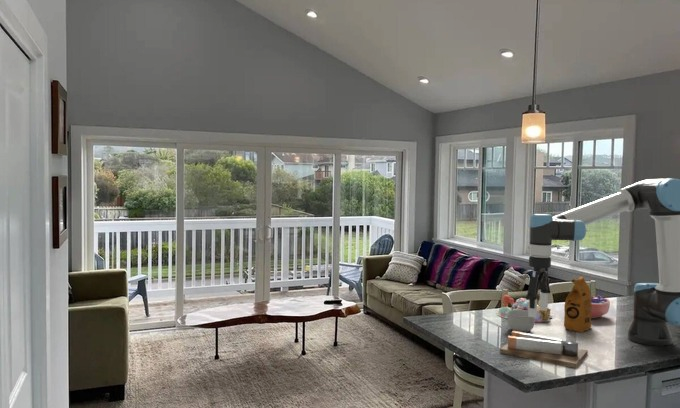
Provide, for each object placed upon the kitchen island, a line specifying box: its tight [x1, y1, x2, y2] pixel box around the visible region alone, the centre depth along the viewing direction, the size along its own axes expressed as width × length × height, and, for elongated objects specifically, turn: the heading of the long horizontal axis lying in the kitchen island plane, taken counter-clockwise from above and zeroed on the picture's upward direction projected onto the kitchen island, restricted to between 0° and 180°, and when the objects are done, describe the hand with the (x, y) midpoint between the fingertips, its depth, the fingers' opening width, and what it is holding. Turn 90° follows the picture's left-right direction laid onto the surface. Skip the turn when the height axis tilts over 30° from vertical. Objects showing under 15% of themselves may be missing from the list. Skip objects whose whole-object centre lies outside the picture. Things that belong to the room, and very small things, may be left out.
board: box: [499, 342, 589, 369], centre depth 188 cm, size 26×18×2 cm
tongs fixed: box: [510, 330, 579, 357], centre depth 188 cm, size 24×5×4 cm, turn 53°
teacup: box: [507, 309, 535, 333], centre depth 218 cm, size 14×11×8 cm
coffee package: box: [563, 275, 592, 333], centre depth 221 cm, size 10×12×22 cm
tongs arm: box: [507, 335, 561, 355], centre depth 186 cm, size 18×2×4 cm, turn 67°
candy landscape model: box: [496, 294, 553, 324], centre depth 241 cm, size 25×24×9 cm
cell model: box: [591, 295, 611, 319], centre depth 241 cm, size 17×20×11 cm
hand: (538, 313), depth 188 cm, fingers open, 13 cm apart
